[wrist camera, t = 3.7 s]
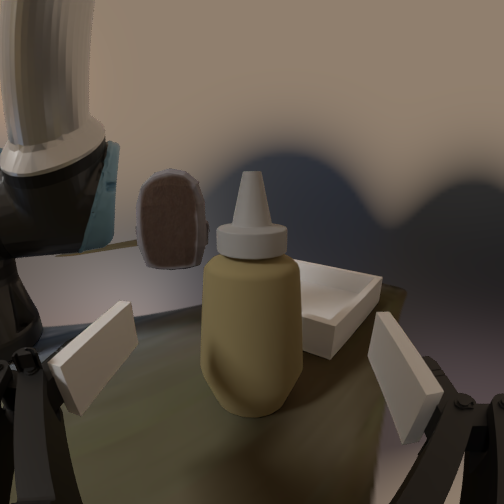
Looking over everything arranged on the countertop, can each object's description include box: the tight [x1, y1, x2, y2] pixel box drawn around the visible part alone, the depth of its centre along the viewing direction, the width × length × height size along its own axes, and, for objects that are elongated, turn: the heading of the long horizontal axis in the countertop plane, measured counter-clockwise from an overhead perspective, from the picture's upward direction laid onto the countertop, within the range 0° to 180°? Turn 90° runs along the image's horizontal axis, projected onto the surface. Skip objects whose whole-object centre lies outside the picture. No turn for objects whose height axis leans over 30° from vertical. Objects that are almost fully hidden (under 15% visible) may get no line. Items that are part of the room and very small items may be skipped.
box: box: [293, 259, 382, 360], centre depth 39 cm, size 18×18×4 cm
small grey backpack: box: [136, 169, 209, 270], centre depth 57 cm, size 15×8×20 cm, turn 96°
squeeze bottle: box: [200, 171, 303, 418], centre depth 21 cm, size 8×8×18 cm
